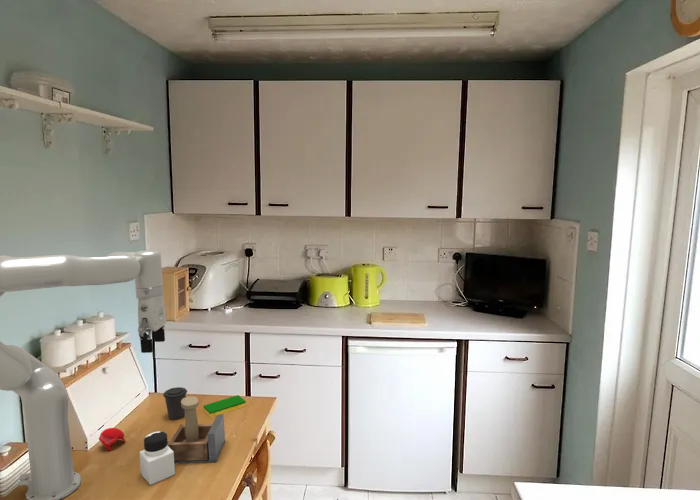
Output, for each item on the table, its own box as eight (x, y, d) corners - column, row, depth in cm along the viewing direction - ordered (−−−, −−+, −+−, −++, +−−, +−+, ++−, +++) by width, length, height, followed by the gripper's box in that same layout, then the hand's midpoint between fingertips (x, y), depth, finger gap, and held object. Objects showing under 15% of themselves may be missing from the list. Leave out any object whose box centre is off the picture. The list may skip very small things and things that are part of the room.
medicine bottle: (175, 474, 129) (173, 435, 128) (150, 486, 125) (147, 445, 123) (165, 464, 135) (163, 425, 133) (140, 474, 130) (137, 435, 128)
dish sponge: (246, 407, 170) (246, 401, 170) (210, 418, 162) (210, 412, 162) (238, 400, 176) (238, 394, 176) (203, 411, 168) (202, 405, 167)
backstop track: (143, 464, 134) (141, 436, 133) (158, 443, 146) (156, 416, 144) (216, 462, 135) (214, 433, 134) (225, 441, 147) (223, 414, 145)
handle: (186, 454, 136) (183, 407, 134) (182, 444, 142) (179, 398, 140) (203, 449, 139) (200, 402, 137) (198, 439, 144) (195, 395, 142)
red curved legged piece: (101, 446, 139) (118, 431, 141) (93, 434, 142) (110, 419, 145) (114, 456, 144) (131, 441, 147) (106, 444, 148) (123, 430, 150)
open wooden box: (168, 461, 134) (167, 444, 134) (181, 440, 146) (180, 425, 145) (207, 459, 135) (206, 443, 134) (217, 439, 146) (216, 423, 146)
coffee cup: (170, 410, 167) (168, 385, 166) (192, 411, 167) (190, 385, 166) (160, 422, 159) (158, 394, 158) (183, 422, 159) (181, 395, 158)
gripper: (151, 298, 128) (155, 356, 130) (172, 285, 145) (175, 337, 147) (123, 298, 127) (128, 357, 129) (148, 286, 144) (152, 338, 147)
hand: (153, 346), depth 138 cm, fingers open, 9 cm apart
